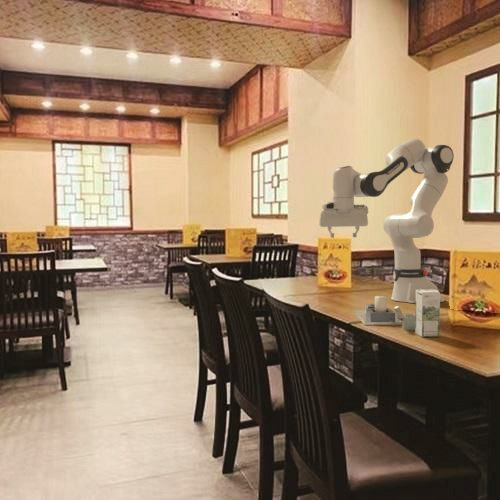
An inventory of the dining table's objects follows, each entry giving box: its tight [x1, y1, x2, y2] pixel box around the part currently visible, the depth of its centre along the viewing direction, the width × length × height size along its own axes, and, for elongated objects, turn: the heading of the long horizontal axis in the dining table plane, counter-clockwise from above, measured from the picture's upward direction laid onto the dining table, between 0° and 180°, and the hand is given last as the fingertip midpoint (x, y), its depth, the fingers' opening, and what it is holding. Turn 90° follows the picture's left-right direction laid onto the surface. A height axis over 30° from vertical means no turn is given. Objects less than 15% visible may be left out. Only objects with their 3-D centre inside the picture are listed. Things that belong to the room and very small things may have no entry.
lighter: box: [393, 305, 415, 331], centre depth 164 cm, size 7×2×8 cm, turn 94°
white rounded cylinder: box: [374, 295, 387, 312], centre depth 177 cm, size 4×4×8 cm
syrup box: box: [414, 289, 441, 338], centre depth 156 cm, size 6×6×14 cm
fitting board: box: [354, 303, 402, 326], centre depth 182 cm, size 13×22×4 cm, turn 177°
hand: (343, 237), depth 209 cm, fingers open, 8 cm apart
